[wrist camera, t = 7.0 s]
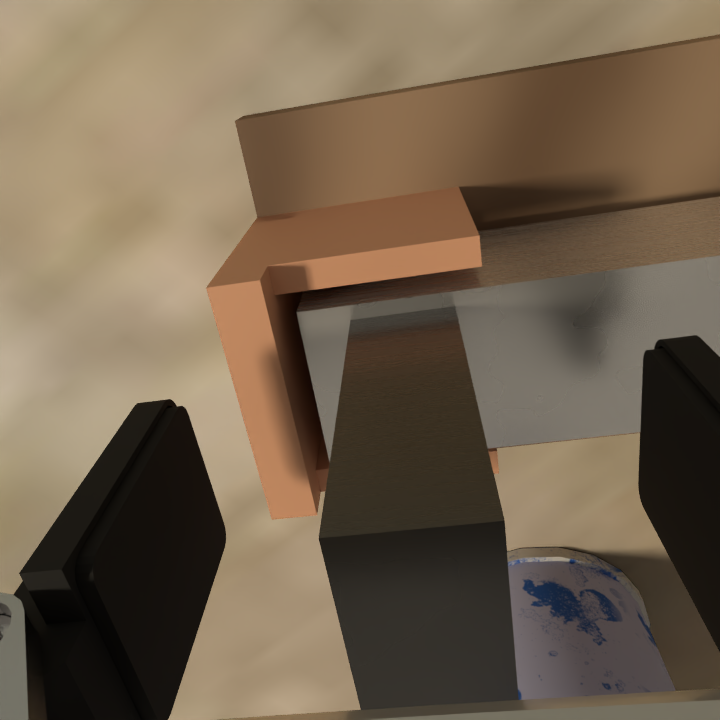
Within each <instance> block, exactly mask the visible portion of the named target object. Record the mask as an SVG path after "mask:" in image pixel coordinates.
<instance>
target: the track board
mask: <svg viewBox="0 0 720 720" xmlns="http://www.w3.org/2000/svg"><path fill="white" fill-rule="evenodd" d="M235 123H236V127H237V132H238V136H239V140H240V144H241V149H242V153H243V157H244V161H245V166H246V170H247V174H248V179H249V183H250V187H251V191H252V196H253V200H254V204H255V208H256V213H257V217H263V216H270V215H276V214H283V213H289V212H296V211H302V210H309V209H316V208H322V207H329V206H335V205H342V204H348V203H355V202H361V201H368V200H375V199H381V198H388V197H394V196H401V195H407V194H414V193H421V192H427V191H434V190H440V189H447V188H453V187H459V189H460V191H461V194H462V196H463V198H464V201H465V203H466V205H467V208H468V210H469V212H470V215H471V217H472V219H473V221H474V224H475V226H476V228H477V231H485V230H492V229H499V228H505V227H512V226H519V225H526V224H533V223H540V222H547V221H554V220H561V219H568V218H575V217H582V216H589V215H596V214H602V213H609V212H616V211H623V210H630V209H637V208H644V207H651V206H658V205H665V204H672V203H679V202H686V201H693V200H700V199H706V198H713V197H720V35H715V36H709V37H703V38H697V39H691V40H686V41H680V42H674V43H668V44H662V45H656V46H650V47H645V48H639V49H633V50H627V51H621V52H615V53H609V54H604V55H598V56H592V57H586V58H580V59H574V60H569V61H563V62H557V63H551V64H545V65H539V66H533V67H528V68H522V69H516V70H510V71H504V72H498V73H492V74H487V75H481V76H475V77H469V78H463V79H457V80H451V81H446V82H440V83H434V84H428V85H422V86H416V87H411V88H405V89H399V90H393V91H387V92H381V93H375V94H370V95H364V96H358V97H352V98H346V99H340V100H334V101H329V102H323V103H317V104H311V105H305V106H299V107H294V108H288V109H282V110H276V111H270V112H264V113H258V114H253V115H247V116H243V117H241V118H239V119H238V120H236V121H235ZM637 433H640V432H637ZM628 434H634V433H628ZM619 435H624V434H619ZM609 436H615V435H609ZM600 437H606V436H600ZM591 438H596V437H591ZM581 439H587V438H581ZM572 440H578V439H572ZM563 441H568V440H563ZM553 442H559V441H553ZM544 443H550V442H544ZM535 444H540V443H535ZM525 445H531V444H525ZM516 446H521V445H516ZM507 447H512V446H507ZM497 448H503V447H497Z"/></svg>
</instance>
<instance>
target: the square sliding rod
mask: <svg viewBox="0 0 720 720" xmlns="http://www.w3.org/2000/svg"><path fill="white" fill-rule="evenodd" d="M478 233H479V235H480V248H481V260H482V267H475V268H467V269H460V270H453V271H446V272H439V273H431V274H424V275H417V276H410V277H402V278H395V279H388V280H381V281H373V282H366V283H359V284H352V285H344V286H337V287H330V288H323V289H316V290H308V291H304V292H303V294H302V297H301V300H300V303H299V306H298V309H297V312H296V313H297V318H298V322H299V327H300V331H301V336H302V340H303V345H304V349H305V354H306V358H307V363H308V367H309V372H310V376H311V381H312V385H313V390H314V394H315V399H316V403H317V408H318V412H319V417H320V421H321V426H322V430H323V435H324V439H325V444H326V449H327V453H328V458H329V462H330V464H329V471H328V478H327V485H326V492H325V499H324V506H323V512H322V519H321V526H320V533H319V541H320V545H321V549H322V554H323V558H324V562H325V566H326V570H327V574H328V578H329V582H330V586H331V590H332V594H333V598H334V602H335V606H336V610H337V614H338V618H339V622H340V627H341V631H342V635H343V639H344V643H345V647H346V651H347V655H348V659H349V663H350V667H351V671H352V675H353V679H354V683H355V687H356V691H357V695H358V700H359V704H360V708H361V710H369V709H384V708H400V707H416V706H431V705H447V704H463V703H479V702H495V701H511V700H519V697H518V685H517V672H516V660H515V647H514V634H513V622H512V609H511V597H510V584H509V572H508V559H507V547H506V534H505V522H504V517H503V512H502V508H501V504H500V499H499V495H498V491H497V486H496V482H495V478H494V473H493V469H492V465H491V460H490V456H489V452H488V448H497V447H507V446H516V445H525V444H535V443H544V442H553V441H563V440H572V439H581V438H591V437H600V436H609V435H619V434H628V433H637V432H640V428H641V401H642V373H643V356H644V353H645V351H646V350H651V349H654V347H655V344H656V342H657V341H658V340H660V339H668V338H676V337H684V336H693V335H697V336H699V337H700V338H701V339H702V340H703V341H704V342H705V343H706V344H707V345H708V346H709V347H710V348H711V349H712V350H713V351H714V352H715V353H716V354H717V355H718V356H719V357H720V197H713V198H706V199H700V200H693V201H686V202H679V203H672V204H665V205H658V206H651V207H644V208H637V209H630V210H623V211H616V212H609V213H602V214H596V215H589V216H582V217H575V218H568V219H561V220H554V221H547V222H540V223H533V224H526V225H519V226H512V227H505V228H499V229H492V230H485V231H478Z"/></svg>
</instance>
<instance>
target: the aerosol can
mask: <svg viewBox="0 0 720 720" xmlns="http://www.w3.org/2000/svg"><path fill="white" fill-rule="evenodd" d="M507 559H508V572H509V584H510V597H511V609H512V622H513V634H514V647H515V660H516V672H517V685H518V697H519V700H527V699H544V698H561V697H579V696H596V695H613V694H630V693H647V692H665V691H676V690H675V688H674V685H673V683H672V681H671V678H670V676H669V674H668V671H667V669H666V667H665V664H664V662H663V660H662V657H661V655H660V653H659V650H658V648H657V646H656V643H655V641H654V639H653V636H652V634H651V632H650V621H649V618H648V615H647V612H646V608H645V605H644V602H643V599H642V597H641V595H640V592H639V590H638V589H637V588H636V587H635V586H634V585H633V584H632V582H631V581H630V580H629V579H628V578H627V577H626V576H625V575H624V573H623V572H622V571H621V570H620V569H618V568H616V567H614V566H612V565H610V564H609V563H607V562H605V561H603V560H601V559H599V558H597V557H596V556H594V555H591V554H587V553H582V552H578V551H573V550H568V549H564V548H559V547H548V548H520V549H516V550H513V551H509V552H507Z"/></svg>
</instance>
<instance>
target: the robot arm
mask: <svg viewBox="0 0 720 720" xmlns="http://www.w3.org/2000/svg"><path fill="white" fill-rule="evenodd" d="M638 484H639V494H640V499H641V502H642V505H643V507H644V510H645V511H646V513H647V515H648V517H649V519H650V521H651V523H652V525H653V527H654V528H655V530H656V532H657V534H658V536H659V538H660V540H661V542H662V544H663V545H664V547H665V549H666V551H667V553H668V555H669V557H670V559H671V561H672V562H673V564H674V566H675V568H676V570H677V572H678V574H679V576H680V578H681V579H682V581H683V583H684V585H685V587H686V589H687V591H688V593H689V595H690V596H691V598H692V600H693V602H694V604H695V606H696V608H697V610H698V612H699V613H700V615H701V617H702V619H703V621H704V623H705V625H706V627H707V629H708V630H709V632H710V634H711V636H712V638H713V640H714V642H715V644H716V646H717V647H718V649H719V651H720V357H719V356H718V355H717V354H716V353H715V352H714V351H713V350H712V349H711V348H710V347H709V346H708V345H707V344H706V343H705V342H704V341H703V340H702V339H701V338H700V337H699V336H697V335H693V336H684V337H676V338H668V339H660V340H658V341H657V342H656V344H655V347H654V349H651V350H646V351H645V353H644V356H643V373H642V401H641V428H640V455H639V482H638ZM225 543H226V531H225V526H224V522H223V519H222V516H221V513H220V510H219V507H218V504H217V501H216V498H215V495H214V492H213V489H212V485H211V482H210V479H209V476H208V473H207V470H206V467H205V464H204V461H203V458H202V455H201V452H200V449H199V446H198V443H197V440H196V437H195V433H194V430H193V427H192V424H191V421H190V418H189V415H188V413H187V410H186V409H185V408H184V407H183V406H178V407H177V406H176V404H175V403H174V402H173V401H172V400H170V399H168V400H160V401H152V402H144V403H137V404H136V405H135V406H134V408H133V409H132V411H131V412H130V413H129V415H128V416H127V418H126V419H125V421H124V422H123V424H122V425H121V427H120V428H119V429H118V431H117V432H116V434H115V435H114V437H113V438H112V440H111V441H110V443H109V444H108V445H107V447H106V448H105V450H104V451H103V453H102V454H101V456H100V457H99V458H98V460H97V461H96V463H95V464H94V466H93V467H92V469H91V470H90V472H89V473H88V474H87V476H86V477H85V479H84V480H83V482H82V483H81V485H80V486H79V487H78V489H77V490H76V492H75V493H74V495H73V496H72V498H71V499H70V501H69V502H68V503H67V505H66V506H65V508H64V509H63V511H62V512H61V514H60V515H59V517H58V518H57V519H56V521H55V522H54V524H53V525H52V527H51V528H50V530H49V531H48V532H47V534H46V535H45V537H44V538H43V540H42V541H41V543H40V544H39V546H38V547H37V548H36V550H35V551H34V553H33V554H32V556H31V557H30V559H29V560H28V561H27V563H26V564H25V566H24V567H23V569H22V570H21V572H20V573H19V574H20V576H21V578H22V580H23V582H22V583H21V585H20V586H19V588H18V589H17V590H16V592H15V593H14V595H12V594H6V593H0V720H168V718H169V716H170V714H171V711H172V708H173V705H174V702H175V699H176V696H177V693H178V689H179V686H180V683H181V680H182V677H183V674H184V671H185V668H186V665H187V662H188V659H189V656H190V653H191V650H192V646H193V643H194V640H195V637H196V634H197V631H198V628H199V625H200V622H201V619H202V616H203V613H204V610H205V606H206V603H207V600H208V597H209V594H210V591H211V588H212V585H213V582H214V579H215V576H216V573H217V570H218V566H219V563H220V560H221V557H222V554H223V551H224V548H225ZM219 720H720V688H716V689H699V690H682V691H665V692H647V693H630V694H613V695H596V696H579V697H561V698H544V699H527V700H511V701H495V702H479V703H463V704H447V705H431V706H416V707H400V708H384V709H369V710H353V711H338V712H322V713H307V714H292V715H276V716H262V717H248V718H233V719H219Z"/></svg>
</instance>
